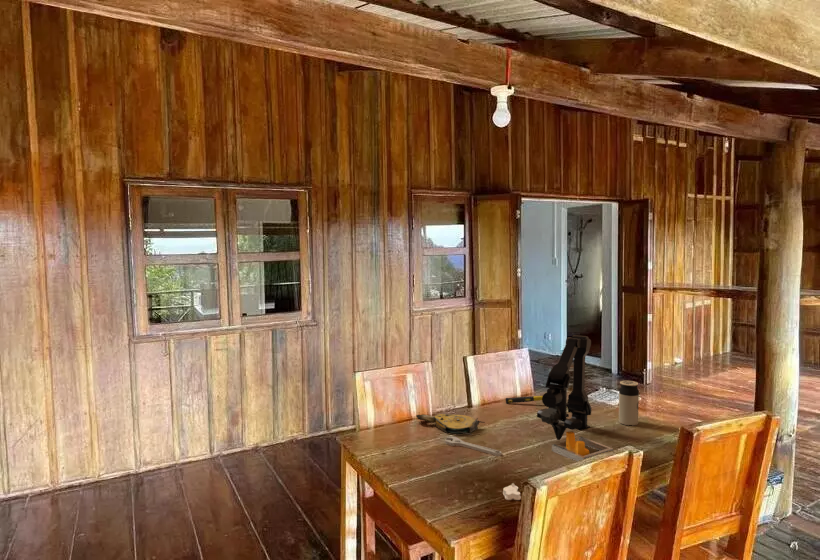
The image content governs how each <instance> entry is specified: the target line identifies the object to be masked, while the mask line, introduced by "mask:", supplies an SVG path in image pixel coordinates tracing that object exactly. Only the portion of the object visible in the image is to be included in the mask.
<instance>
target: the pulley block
mask: <svg viewBox="0 0 820 560" xmlns="http://www.w3.org/2000/svg"><path fill="white" fill-rule="evenodd" d="M415 417H416V418H417V420H419V421H425V422H430V423H435V425H434V427H436V428H437V429H439V430H441V431H442V430H443V431H442V432H444V433H446V434H448V433H450V434H449V435H453V434H456V436H460V435H461V436H463V435H465V436H466V435H470V436H471V435H473V433H472V432H474V431H477V430H478V426H479V425H480V423H483V424H486V422H485V421H481V420H478V419H479V418H476V419H475V418H474V417H472V416H468V415H465V414H464V415H463V414H449V413H438V414H436V415H434V416H432V415H428V414H423V413H422V414H416V415H415ZM471 433H472V434H471Z"/></svg>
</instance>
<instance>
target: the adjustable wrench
mask: <svg viewBox="0 0 820 560" xmlns="http://www.w3.org/2000/svg"><path fill="white" fill-rule="evenodd" d="M451 440H452V441H451ZM445 443H446V444H445ZM444 444H445V445H447V444H448V446H451V447H463V448H467V449H471V450H474V451H478V452H481V453H485V454H489V455H493V456H495V457H500V456H502V451H501V450H497V449H495V448H490V447H487V446H482V445H479V444H474V443H470V442H466V441H464V440H462V439H460V438H458V437H456V436H452V435H451V436H446V438H445V439H444ZM455 445H456V446H455Z"/></svg>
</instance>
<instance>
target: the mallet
mask: <svg viewBox="0 0 820 560" xmlns="http://www.w3.org/2000/svg"><path fill="white" fill-rule="evenodd" d="M542 397H543V395H536V396H535V395H533V396H518V397H517V396H515V397H506V398H505V404H506V405H508V404H516V403H517V404H518V403H529V402H535V401H536V402H537V401H542Z"/></svg>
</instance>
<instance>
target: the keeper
mask: <svg viewBox="0 0 820 560" xmlns="http://www.w3.org/2000/svg"><path fill="white" fill-rule="evenodd" d="M578 441H583V442H585V447H587V446H588V447H587V448H590V447H591V448H590V449H592V448H593V450H595V449H596V451H595V452H592V453H589V454H588V455H585V456H582V455H580V454H577V453H575V452H572V451H570V450H568V449H567V448H566V447H562V446H560V445H557V444H554V443H553V444H551V452H553V453H556V454H558V455H560V456H562V457H565V458H567V459H569V458H570V459H569V460H572V459H573V460H572V461H574V460H576V461H579V460H583V459H586V458H589V457H592V456H594V455H598V454H601V453H605V452H608V451H613V452H614V448H613V447H610V446H607V445H604V444H602V443H599V442H598V441H594V440H591V439H589V438H586V437H584V436H579V437H578ZM598 450H599V451H598ZM576 461H575V462H576Z"/></svg>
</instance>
